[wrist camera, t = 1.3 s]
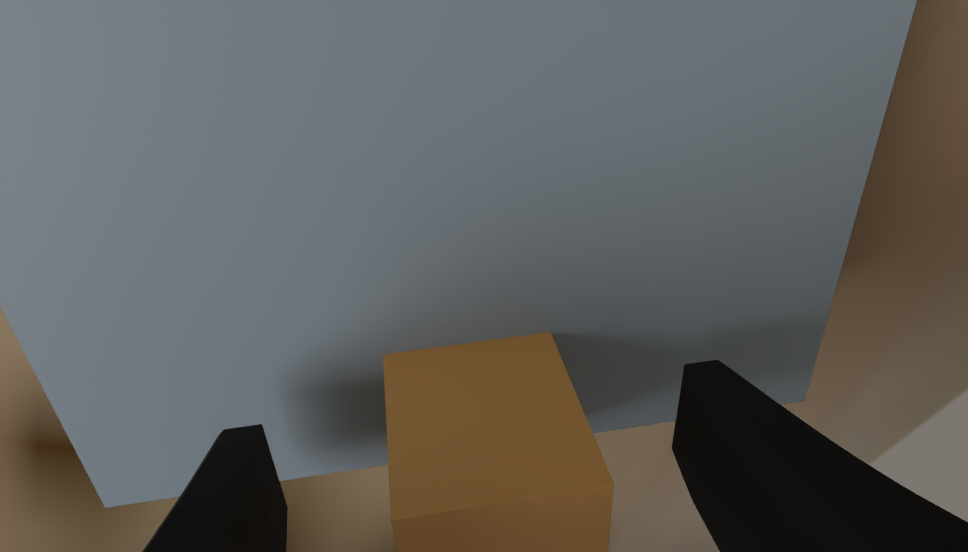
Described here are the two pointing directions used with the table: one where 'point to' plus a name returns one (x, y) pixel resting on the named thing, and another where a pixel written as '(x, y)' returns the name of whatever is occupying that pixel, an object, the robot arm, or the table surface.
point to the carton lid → (425, 232)
